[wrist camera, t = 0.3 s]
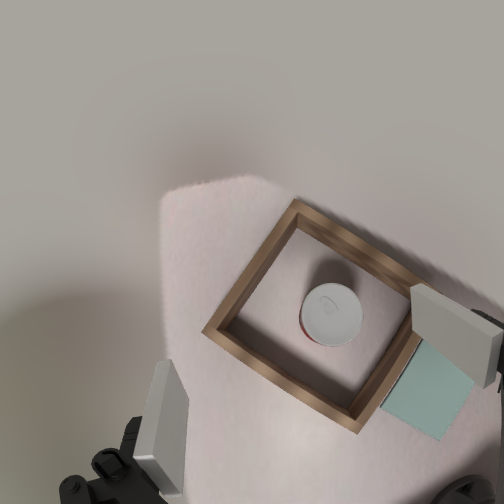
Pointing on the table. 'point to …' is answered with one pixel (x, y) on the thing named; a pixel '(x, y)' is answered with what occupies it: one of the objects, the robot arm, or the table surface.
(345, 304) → the canned food
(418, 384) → the mat
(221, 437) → the table surface
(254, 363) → the frame
